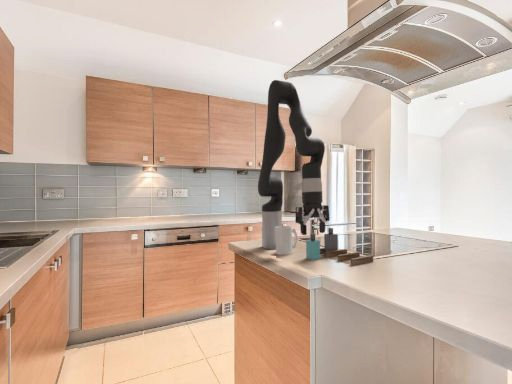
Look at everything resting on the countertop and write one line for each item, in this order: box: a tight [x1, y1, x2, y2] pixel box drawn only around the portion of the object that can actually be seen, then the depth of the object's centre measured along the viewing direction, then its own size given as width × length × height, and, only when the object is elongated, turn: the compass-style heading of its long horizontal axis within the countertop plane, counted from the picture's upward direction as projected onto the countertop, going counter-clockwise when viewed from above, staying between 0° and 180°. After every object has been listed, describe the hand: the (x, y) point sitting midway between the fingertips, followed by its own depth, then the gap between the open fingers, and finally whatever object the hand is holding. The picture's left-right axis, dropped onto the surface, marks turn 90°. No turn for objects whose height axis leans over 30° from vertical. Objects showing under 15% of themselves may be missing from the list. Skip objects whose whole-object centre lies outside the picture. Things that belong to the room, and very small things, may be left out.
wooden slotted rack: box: [320, 247, 374, 266], centre depth 107 cm, size 20×10×3 cm, turn 28°
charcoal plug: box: [323, 227, 339, 254], centre depth 112 cm, size 4×4×10 cm
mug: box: [275, 225, 298, 256], centre depth 116 cm, size 10×7×12 cm, turn 116°
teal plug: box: [305, 233, 321, 261], centre depth 106 cm, size 4×4×10 cm
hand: (313, 233), depth 106 cm, fingers open, 8 cm apart
